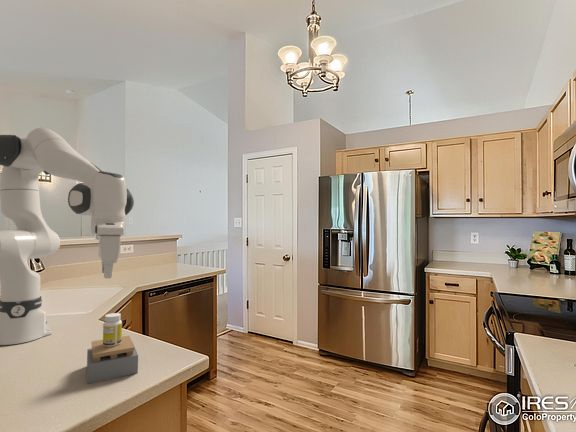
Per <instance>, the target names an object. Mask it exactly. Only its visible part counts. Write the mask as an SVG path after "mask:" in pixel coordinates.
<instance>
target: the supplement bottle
mask: <svg viewBox="0 0 576 432" xmlns="http://www.w3.org/2000/svg"><path fill="white" fill-rule="evenodd" d="M121 314H122V313H120V312H119V313H118V312H112V313H111V312H110V313H107V314H105V316H104V322H103V327H102V328H103V329H102V340H103V346H105V347H113V346H117V345H119V344H121V342H122V337H123V336H122V334H123V333H122V332H123V321H122V320H121V317H122V316H121Z"/></svg>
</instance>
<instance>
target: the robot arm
mask: <svg viewBox="0 0 576 432" xmlns="http://www.w3.org/2000/svg"><path fill="white" fill-rule="evenodd" d="M0 166H1V167H2V168H1V173H0V212H1V213H2V215H3V216H4V217H5V218H7V219H9V220H11V221H12V222H13V223H14V226H15V227H16V229H0V346H8V345H18V344H23V343H28V342H32V341H35V340H39V339H40V338H43V337H45V336H50V335H52V334H53V332H52V331H53V330H52V329H51V328H50V325H48V321H47V320H46V316H47V315H46V314H47V313H46V311H45V310H43V309H42V303H43V299H42V296H41V284H42V283H41V280H42V279H41V278H42V277H41V275H40V273H38V272H37V271H35V270H32V269H31V268H30V266H29V263H28V260H33V259H34V260H35V259H42V258H46V257H48V256H49V257H50V256H51V255H55V254H56V253H57V252H58V251H59V249H60V247H61V239H60V236H59V234H58V233H57V232H55V231H54V230H53V229H52V228H50V226H49V225H48V223H47V222H46V220H45V218H44V216H43V213H42V208H41V199H40V184H39V176H40V174H41V173H42V172H43V173H44V174H45V175H46V176H49V175H52V176H54V177H58V178H62V179H68V180H71V181H77V182H81V183H77V184H76V185H74V186H73V187H72V188H71V189H70V190H69V192H68V198H67V202H68V206H69V208H70V209H71V211H72V212H73V213H75V214H76V215H81V216H89V217H90V216H91V217H90V234H92V235H93V234H94V235H95V240H98V251H97V253H98V257H99V258H100V261H101V273H102V274H103V277H104V279H112V278H113V277H112V276H113V269H114V264H116V263H118V261H119V260H118V259H119V255H120V250H121V244H122V243H121V242H122V236H123V235H125V234H126V225H127V224H126V223H127V222H126V221H127V215H128V214H130V212H131V211H132V209H133V207H134V205H135V204H134V203H135V202H134V196H133V195H132V192H131V191H130V190H129V189H128V188H127V181H126V178H125V176H123V175H121V174H120V173H115V172H114V173H113V172H110V171H104V170H101V169H100V167H98V166H97V165H95V164H94V163H92V162H91V161H89V160H88V159H87V158H86V157H84V156H83V155H81V154H80V153H79V152H77V150H76V149H75V148H73V147H72V146H71V144H69V143H68V142H67V140H66V139H65V138H64V137H62V136H61V135H60V134H58V133H57V132H56V131H54V130H52V129H50V128H47V127H37V128H35V129H32V130H31V131H29V132H28V134H27V136H17V135H15V134H0Z"/></svg>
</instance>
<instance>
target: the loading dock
mask: <svg viewBox="0 0 576 432" xmlns="http://www.w3.org/2000/svg"><path fill="white" fill-rule="evenodd" d="M86 355H87V356H86V372H87V374H86V378H87V384H92V383H98V382H102V381H107V380H112V379H115V378H117V379H118V378H120V377H125V376H131V375H135V374H138V373H139V372H138V371H139V370H138V369H139V354H138V351H137V349H136V346H135V345H134V342H133V341H132V338H131V337H130V335H123V336H122V342H121V344H119V345H117V346H113V347H105V346H103V339H98V340H92V341H91V348H87V352H86Z"/></svg>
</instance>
